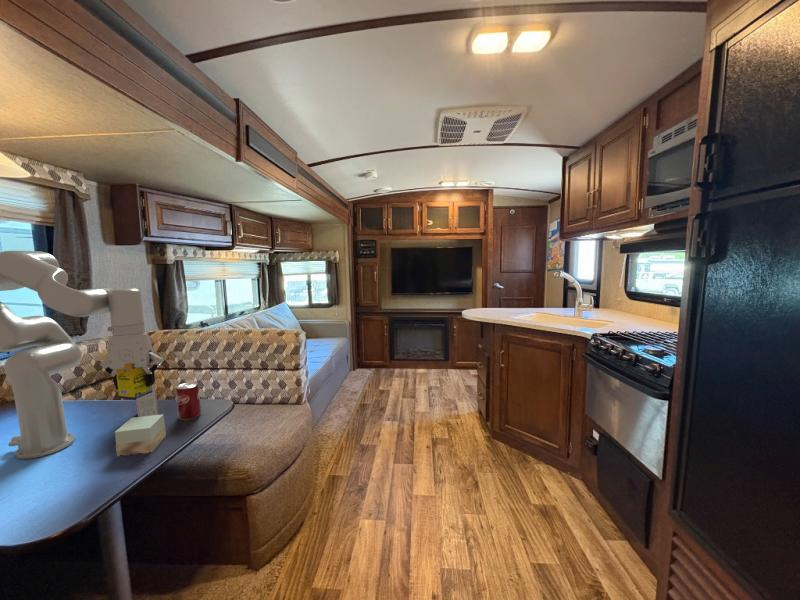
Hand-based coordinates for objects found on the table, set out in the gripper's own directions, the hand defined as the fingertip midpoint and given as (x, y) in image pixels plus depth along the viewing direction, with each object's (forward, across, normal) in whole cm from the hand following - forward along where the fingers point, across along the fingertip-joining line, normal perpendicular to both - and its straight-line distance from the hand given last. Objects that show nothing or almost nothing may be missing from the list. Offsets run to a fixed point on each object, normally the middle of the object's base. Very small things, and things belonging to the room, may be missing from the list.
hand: (135, 386), depth 100 cm
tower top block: (+16, 0, 0) cm, 16 cm away
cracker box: (+20, -9, +21) cm, 30 cm away
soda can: (+20, +6, +19) cm, 28 cm away
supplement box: (+3, 0, 0) cm, 3 cm away
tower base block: (+20, 0, 0) cm, 20 cm away
